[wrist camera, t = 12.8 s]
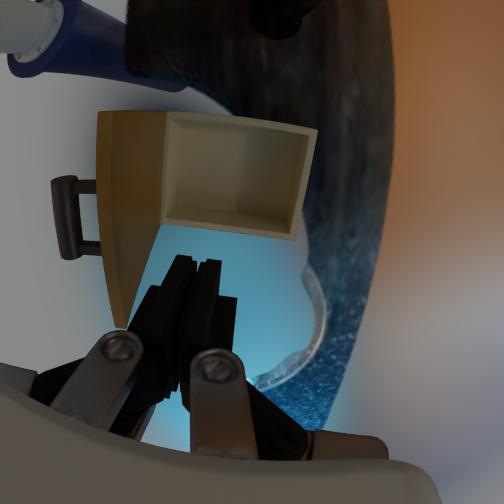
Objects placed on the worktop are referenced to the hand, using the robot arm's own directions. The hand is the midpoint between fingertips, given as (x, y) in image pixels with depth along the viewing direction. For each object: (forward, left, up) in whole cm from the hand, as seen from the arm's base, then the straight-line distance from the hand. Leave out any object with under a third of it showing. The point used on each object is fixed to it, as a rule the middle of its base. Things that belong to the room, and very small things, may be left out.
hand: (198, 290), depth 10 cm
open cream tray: (0, 0, -25) cm, 25 cm away
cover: (-6, 0, -11) cm, 13 cm away
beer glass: (+2, +20, -25) cm, 32 cm away
